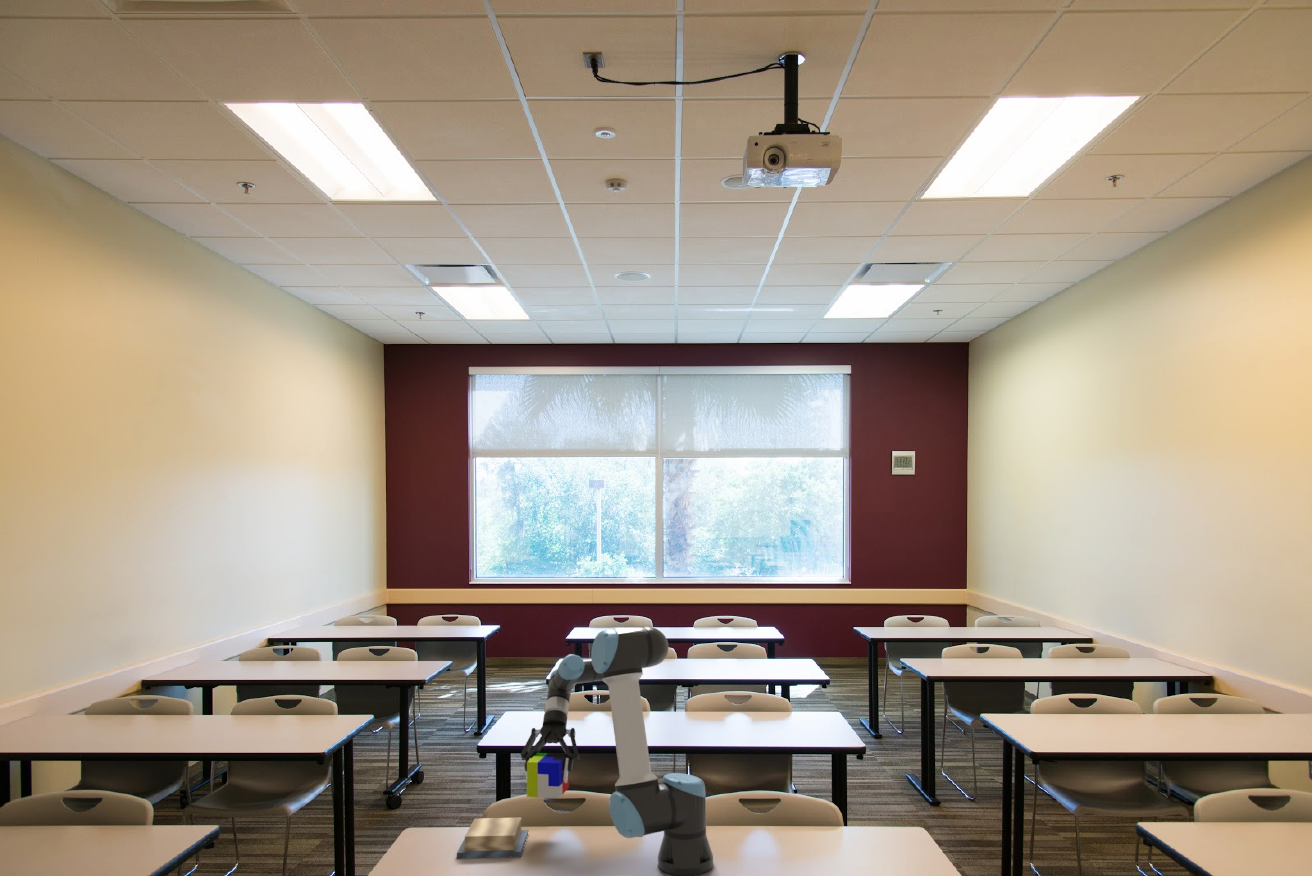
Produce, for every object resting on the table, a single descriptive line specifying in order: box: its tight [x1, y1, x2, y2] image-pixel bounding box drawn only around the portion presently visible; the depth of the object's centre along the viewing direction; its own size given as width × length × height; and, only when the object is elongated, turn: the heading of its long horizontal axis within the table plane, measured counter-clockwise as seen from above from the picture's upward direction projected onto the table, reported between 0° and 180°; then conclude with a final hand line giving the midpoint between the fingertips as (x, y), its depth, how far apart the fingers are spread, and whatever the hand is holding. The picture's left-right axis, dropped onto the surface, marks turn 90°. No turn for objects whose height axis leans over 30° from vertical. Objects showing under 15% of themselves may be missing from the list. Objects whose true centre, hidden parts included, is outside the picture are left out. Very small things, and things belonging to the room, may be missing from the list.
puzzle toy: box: [526, 752, 570, 799], centre depth 244 cm, size 10×10×10 cm
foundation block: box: [456, 817, 529, 860], centre depth 234 cm, size 18×16×6 cm
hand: (546, 780), depth 241 cm, fingers closed on puzzle toy, 11 cm apart
